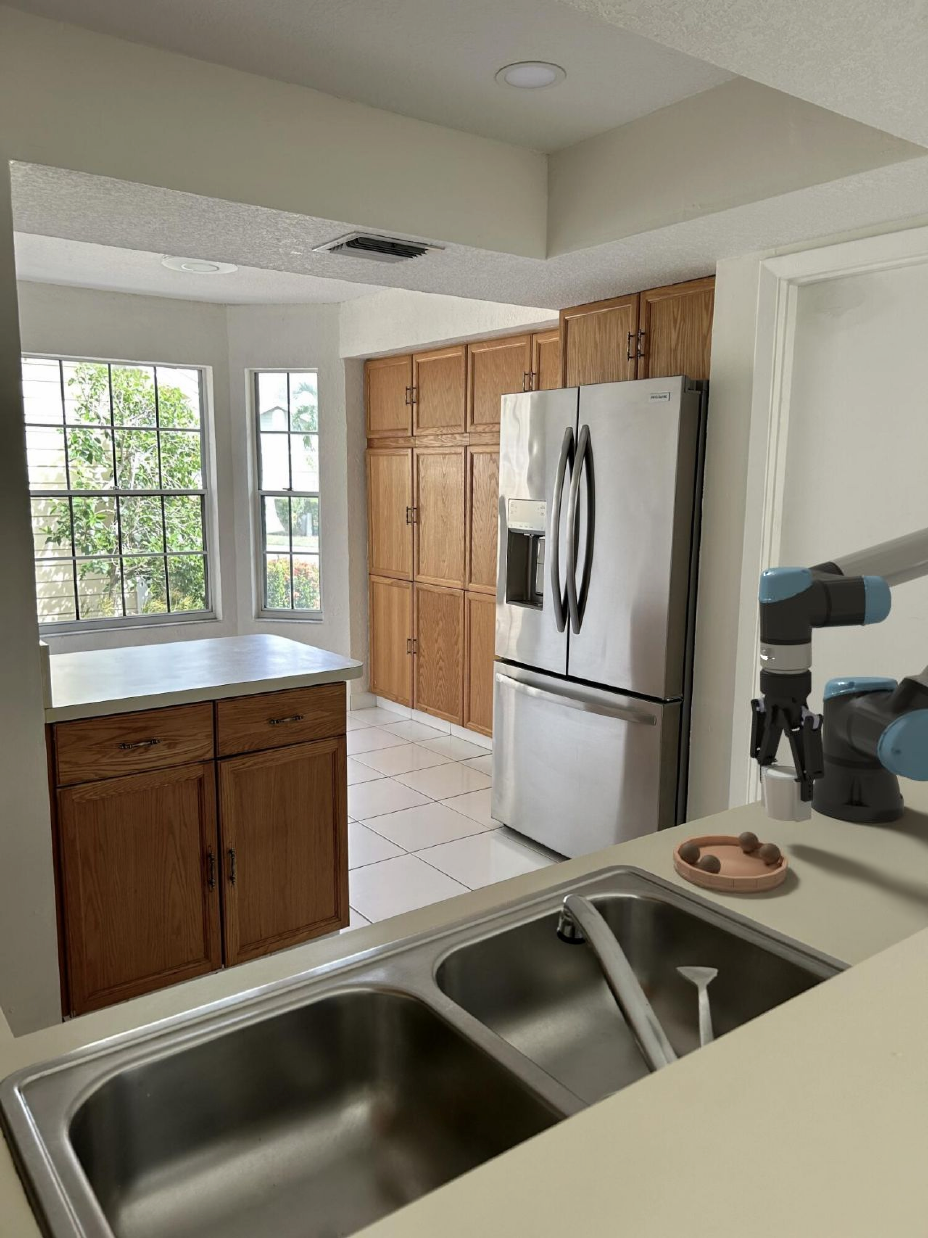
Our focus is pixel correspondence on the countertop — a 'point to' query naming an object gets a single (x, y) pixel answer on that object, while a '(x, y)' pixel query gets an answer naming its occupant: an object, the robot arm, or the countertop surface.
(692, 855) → the bead
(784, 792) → the white cup
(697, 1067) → the countertop surface
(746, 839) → the bead
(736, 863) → the tray
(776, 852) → the bead
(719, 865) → the bead
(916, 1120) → the countertop surface
